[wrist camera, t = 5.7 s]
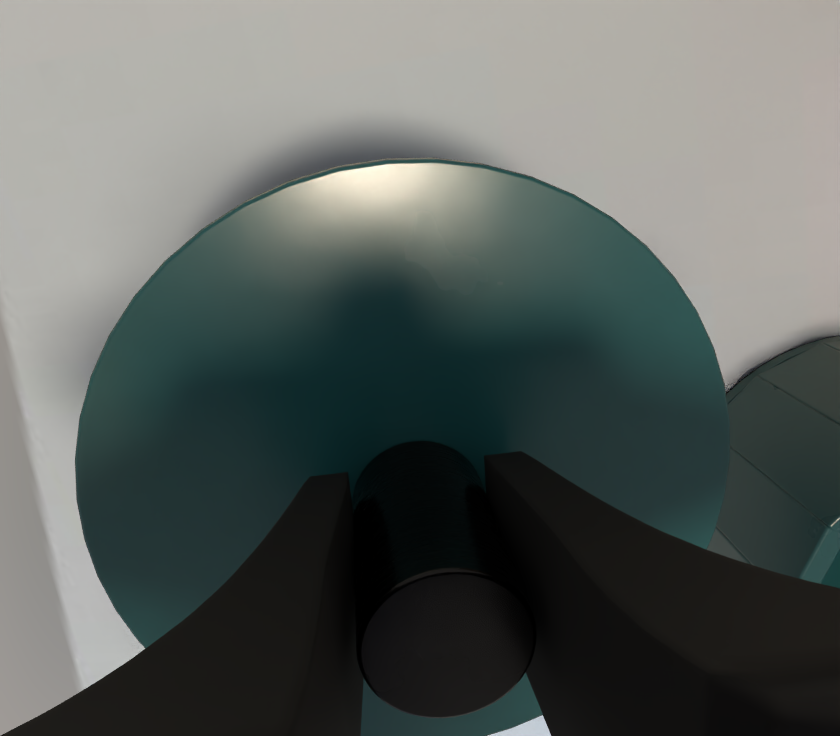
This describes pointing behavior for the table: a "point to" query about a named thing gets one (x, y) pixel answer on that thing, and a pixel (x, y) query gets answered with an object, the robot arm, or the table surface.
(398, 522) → the pot lid
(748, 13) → the table surface
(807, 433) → the pot
